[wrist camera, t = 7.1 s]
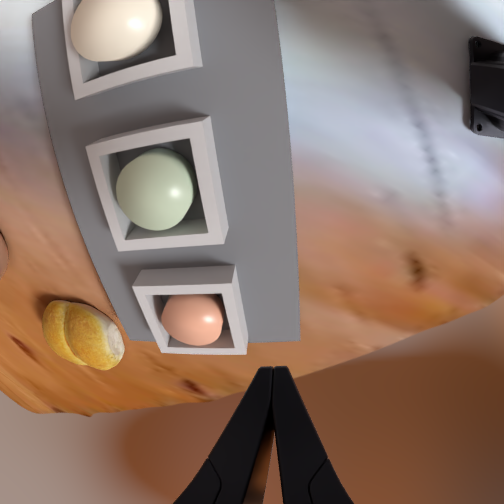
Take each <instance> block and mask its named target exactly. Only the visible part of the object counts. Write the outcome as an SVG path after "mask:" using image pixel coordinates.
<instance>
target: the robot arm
mask: <svg viewBox="0 0 504 504" xmlns="http://www.w3.org/2000/svg"><path fill="white" fill-rule="evenodd" d="M475 41H476V42H477V43H478V47H477V46H476V44H475ZM469 50H470V86H471V124H470V126H471V130H472V132H473V133H475V134H478V135H482V136H490V137H497V138H503V139H504V45H502V44H499V43H496V42H493V41H490V40H487V39H483V38H480V37H471V38H470V39H469ZM478 124H479V129H478V130H477V125H478ZM274 433H275V438H276V446H277V455H278V463H279V471H280V480H281V487H282V497H283V504H354V503H353V501H352V500H351V498H350V497H349V496H348V494H347V492H346V491H345V489H344V487H343V486H342V484H341V482H340V480H339V478H338V477H337V475H336V472H335V471H334V469H333V467H332V464H331V462H330V460H329V459H328V456H327V453H326V452H325V449H324V447H323V445H322V443H321V440H320V438H319V436H318V434H317V431H316V429H315V427H314V425H313V423H312V420H311V418H310V416H309V414H308V412H307V409H306V407H305V405H304V402H303V400H302V398H301V396H300V394H299V391H298V389H297V387H296V384H295V382H294V380H293V378H292V375H291V373H290V371H289V369H288V367H287V366H275V367H274V368H273V367H271V366H269V367H260V368H259V369H258V371H257V373H256V374H255V376H254V378H253V380H252V382H251V384H250V385H249V387H248V389H247V391H246V392H245V395H244V396H243V398H242V400H241V401H240V403H239V405H238V407H237V408H236V410H235V412H234V414H233V415H232V417H231V419H230V421H229V422H228V424H227V426H226V427H225V429H224V431H223V432H222V434H221V436H220V437H219V439H218V441H217V443H216V444H215V446H214V447H213V449H212V451H211V452H210V454H209V456H208V458H209V459H208V458H207V459H206V461H205V462H204V463H203V465H202V467H201V468H200V470H199V471H198V473H197V474H196V476H195V477H194V478H193V480H192V482H191V483H190V484H189V485H188V486H187V488H186V489H185V490H184V491H183V492H182V494H181V495H180V496H179V497H178V498H177V499H176V500H175V502H174V503H173V504H263V499H264V493H265V488H266V483H267V477H268V471H269V465H270V459H271V453H272V447H273V440H274Z"/></svg>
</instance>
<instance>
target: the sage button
mask: <svg viewBox="0 0 504 504" xmlns="http://www.w3.org/2000/svg"><path fill="white" fill-rule="evenodd" d="M196 192H197V178H196V174H195V172H194V169H193V168H192V166H191V164H190V163H189V162H188V161H187V160H186V159H185V158H184V157H183V156H182V155H180V154H179V153H177V152H175V151H173V150H170V149H165V148H155V149H151V150H148V151H146V152H144V153H142V154H141V155H139V156H138V157H137V158H135V159H134V160H133V161H131V162H130V163H128V164H127V165H126V166H125V167H124V168H123V169H122V171H121V173H120V174H119V177H118V180H117V184H116V195H117V200H118V203H119V205H120V207H121V209H122V211H123V212H124V214H125V215H126V216H127V217H128V218H129V219H130V220H131V221H132V222H134V223H135V224H137V225H138V226H140V227H142V228H145V229H149V230H165V229H169V228H171V227H173V226H175V225H176V224H178V223H179V222H180V221H181V220H182V219H183V217H184V216H185V214H186V212H187V211H188V209H189V207H190V206H191V204H192V202H193V200H194V198H195V196H196Z"/></svg>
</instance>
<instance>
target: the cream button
mask: <svg viewBox="0 0 504 504" xmlns="http://www.w3.org/2000/svg"><path fill="white" fill-rule="evenodd" d="M162 19H163V11H162V7H161V4H160V2H159V0H82V1H81V3H80V4H79V5H78V7H77V9H76V11H75V13H74V15H73V19H72V23H71V40H72V43H73V45H74V47H75V49H76V50H77V52H78V53H79V54H80V55H81V56H83V57H84V58H86V59H88V60H91V61H123V60H127V59H131V58H133V57H135V56H137V55H139V54H140V53H142V52H143V51H145V50H146V49H147V48H148V47H149V46H150V45H151V44H152V42H153V41H154V40H155V38H156V37H157V35H158V33H159V31H160V28H161V25H162Z"/></svg>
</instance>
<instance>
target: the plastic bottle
mask: <svg viewBox="0 0 504 504" xmlns="http://www.w3.org/2000/svg"><path fill="white" fill-rule="evenodd" d="M8 259H9V254H8V249H7V246H6V244H5V241H4V239H3V237H2V235H1V234H0V279H1V278H2V276H3V274H4V273H5V271H6V269H7V265H8Z"/></svg>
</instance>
